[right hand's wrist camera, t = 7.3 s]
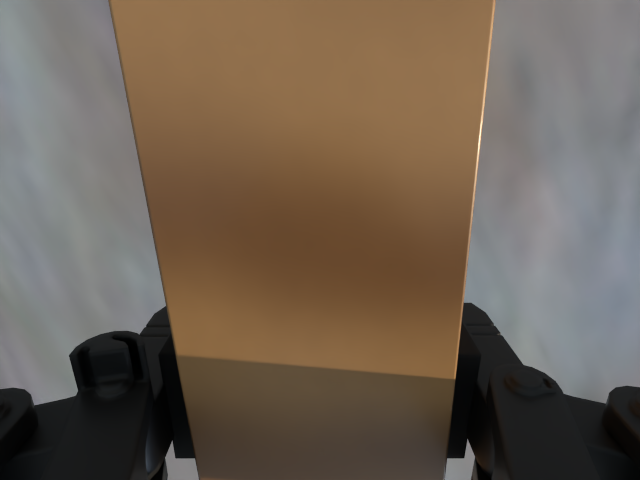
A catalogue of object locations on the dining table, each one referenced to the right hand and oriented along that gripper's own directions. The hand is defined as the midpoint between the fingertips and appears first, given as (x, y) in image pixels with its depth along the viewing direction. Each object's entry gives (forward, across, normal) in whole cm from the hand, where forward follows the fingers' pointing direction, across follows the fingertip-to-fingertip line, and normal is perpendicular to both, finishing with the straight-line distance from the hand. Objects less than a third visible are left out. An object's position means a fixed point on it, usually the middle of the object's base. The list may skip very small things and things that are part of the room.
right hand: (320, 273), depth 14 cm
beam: (0, +1, -21) cm, 21 cm away
